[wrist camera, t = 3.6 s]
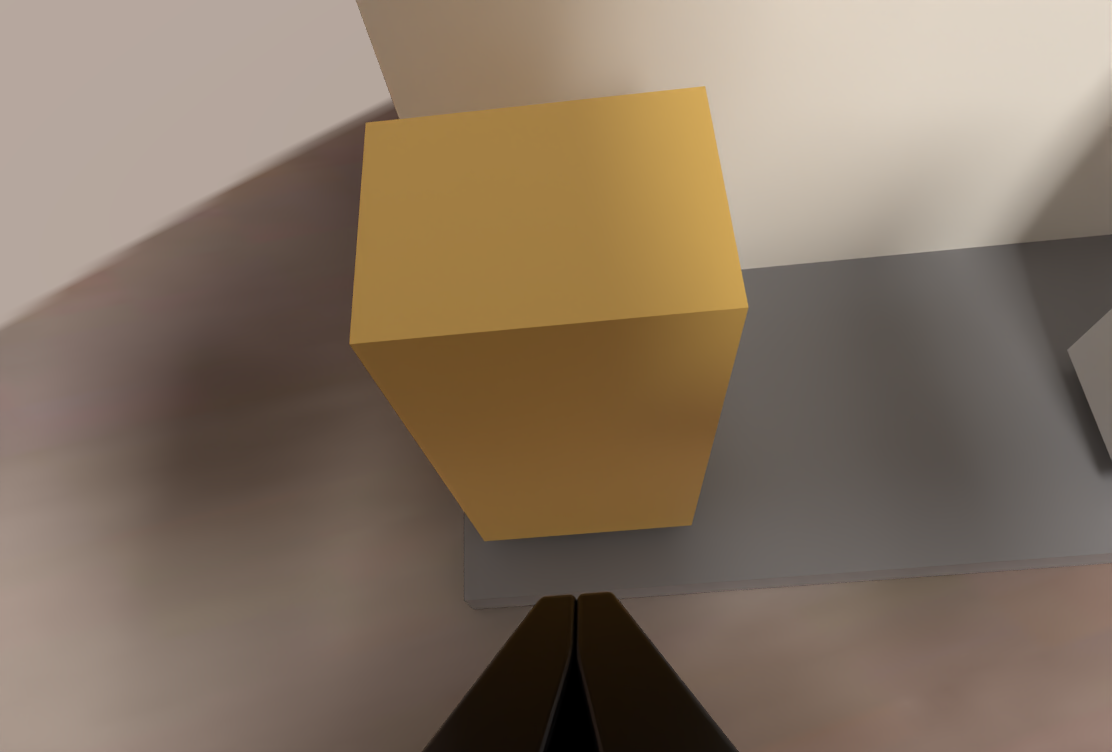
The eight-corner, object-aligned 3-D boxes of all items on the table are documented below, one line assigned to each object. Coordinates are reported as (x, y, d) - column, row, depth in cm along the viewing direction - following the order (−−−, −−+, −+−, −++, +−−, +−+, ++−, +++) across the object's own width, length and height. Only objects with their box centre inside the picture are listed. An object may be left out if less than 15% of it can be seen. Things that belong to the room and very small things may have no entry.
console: (1339, 546, 15) (2912, 82, 5) (473, 609, 16) (182, 340, 6) (1122, 123, 20) (1649, -556, 10) (470, 190, 21) (313, -365, 10)
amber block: (691, 525, 15) (748, 307, 8) (484, 541, 15) (349, 344, 8) (671, 384, 16) (704, 86, 9) (482, 401, 16) (365, 122, 9)
